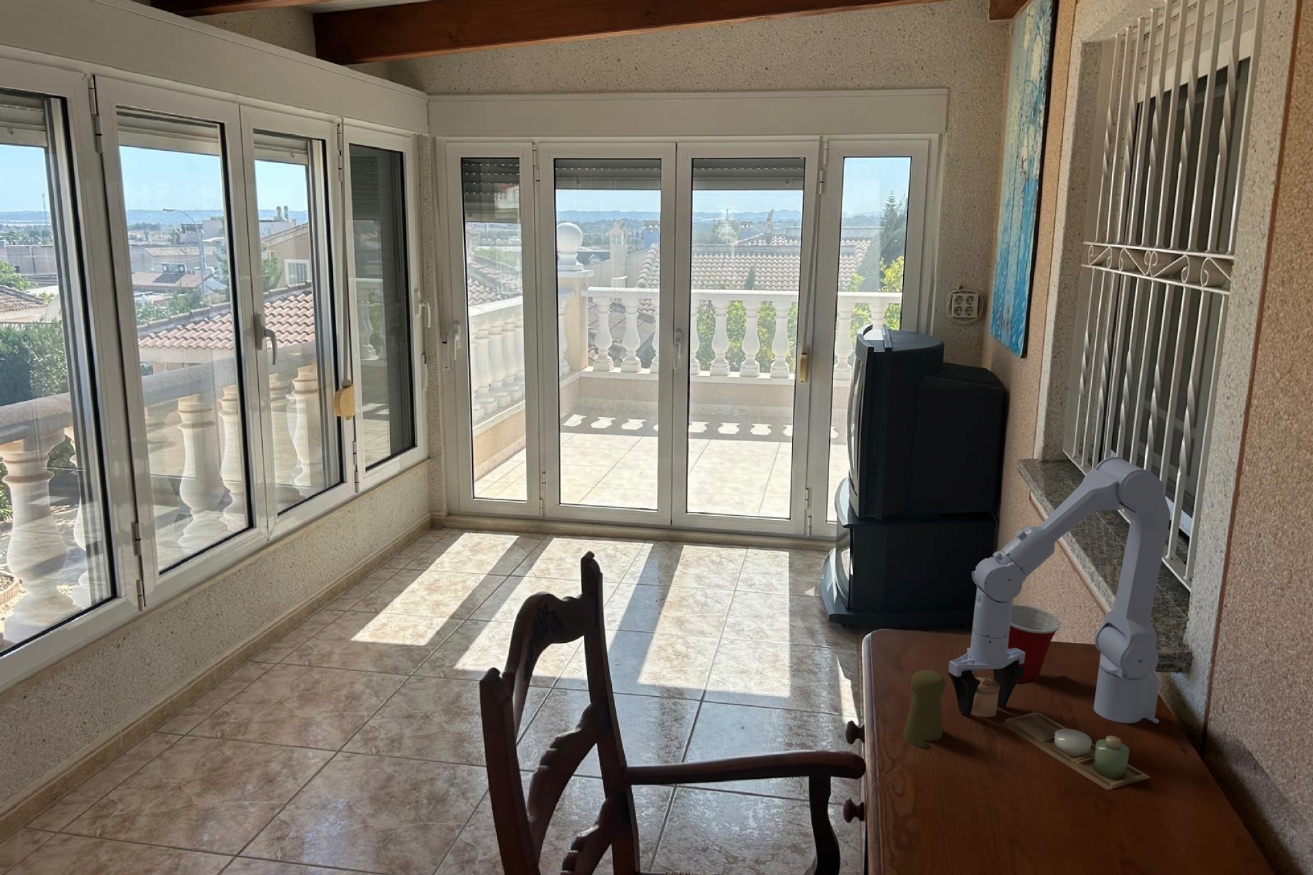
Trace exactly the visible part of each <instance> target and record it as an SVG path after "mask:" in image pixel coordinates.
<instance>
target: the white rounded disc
mask: <svg viewBox="0 0 1313 875" xmlns="http://www.w3.org/2000/svg"><path fill="white" fill-rule="evenodd" d="M1091 743H1093V742H1092V738H1091V737H1090V736H1089V735H1087V733H1084V732H1083V731H1080V730H1076V729H1073V728H1072V729H1071V728H1067V729H1059V730H1057V731H1056V732H1055V739H1054V748H1056V749H1058V750H1059V751H1061V752H1063V753H1064V754H1066V755H1068V756H1070V757H1076V758H1080V757H1083V756H1087V755H1090V750H1091Z"/></svg>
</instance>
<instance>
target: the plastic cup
mask: <svg viewBox="0 0 1313 875" xmlns="http://www.w3.org/2000/svg"><path fill="white" fill-rule="evenodd" d="M1061 625H1062V624H1061V621H1060V620H1059V618H1058V617H1056V616H1055V615H1053V614H1052V613H1050V612H1048V611H1046V610H1043V609H1041V608H1037V607H1034V606H1029V605H1024V604H1012V614H1011V622H1010V631H1009V641H1008V649H1014V648H1017V649H1019V650H1021V651H1023V652H1025V659H1024V663H1022V664H1019V666H1021V667H1023V668H1024V669H1025V671H1024V675H1023V676H1022V677H1021V678H1020V679H1019V681H1018V682H1020V683H1019V684H1025V683H1027V684H1031V683H1035V682H1038V679H1039V677H1040V674H1041V671H1042V670H1041V669H1042V667H1043V666H1044V663H1045V659H1046V656H1047V654H1048V651H1049V647H1050V644H1051V641H1053V637H1054V636H1055V633H1057V631H1059V630H1060V627H1061ZM1018 682H1017V683H1018Z"/></svg>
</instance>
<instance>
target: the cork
mask: <svg viewBox="0 0 1313 875" xmlns="http://www.w3.org/2000/svg"><path fill="white" fill-rule="evenodd" d="M910 687H911V690H912V692H913V694H912V697H911V702H910V706H909V710H908V711H909V712H908V714H907V715H908V716H907V719H906V724H905V727H904V732H903V739H904V740H905V741H906V742H907V743H908V744H911V745H913V746H915V747H918V748H922V749H933V746H931V745H930V744H928V743H927V742H928V741H929V742H932V741H937V740H939V739H941V738H942V737H943V721H942V720H943V719H942V702H941V701H942V700H941V699H942V698H941V697H942V695H943V694H945V690H946V681H945V679H944V677H943V676H942V675H941V674H940V673H938V672H936V671H933V670H928V669H927V670H925V669H922V670H918V671H916V672H915V673H913V674H912V677H911V680H910ZM925 741H927V742H925Z"/></svg>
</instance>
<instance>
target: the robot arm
mask: <svg viewBox="0 0 1313 875" xmlns="http://www.w3.org/2000/svg"><path fill="white" fill-rule="evenodd" d="M1164 491H1165V483H1164V482H1163V481H1161V479H1160V478H1159V477H1158V476H1157V475H1155V474H1154V473H1153V472H1152V471H1150V470H1148V469H1145V468H1141V467H1139V466H1137V465H1135V464H1133V463H1131V462H1129V461H1127V460H1126V459H1124V458H1122V457H1118V456H1110V457H1106V458H1104V459H1102V460H1101V461H1100V462H1099V463H1097V465H1096V466H1095V468H1092V469H1090V470H1089V471H1088V472H1087V473H1086V474H1085V476H1084V478H1083V479H1082V482H1081V483H1080V485H1079V486H1077V488H1076V489H1075V490H1074V491H1073V492H1071V494H1070V495H1069V496H1068V497H1067V498H1066V499H1065V500H1064V501H1063V502H1062V503H1061V504H1059V505H1058V507H1057V508H1055V510H1054V511H1052V512H1051V514H1050V515H1049V516H1048V517H1047V518H1046V519H1045V520H1043V522H1042V523H1041V524H1040V525H1034V526H1033V525H1032V526H1026V527H1025V528H1024V529H1023V530H1022V529H1021V528H1019V529H1018V530H1017V531H1015V533H1014V535H1015V537H1014V538H1013V539H1011V541H1009V542H1008V543H1007V544H1005V546H1003V547H1002V548H1001V549H1000V550H999V551H997V550H996V551H995V552H994V553H993V554H992V556H990V557H989V558H988V557H986V558H984V559H982V560H980V562H979V563H978V564H977V565H976V566H975V570H974V571H971V577H972V578H971V579H972V580H973V582H974V584H975V585H976V593H975V594H976V595H975V601H974V603H975V604H974V611H973V621H972V630H971V639H970V647H967V648H966V653H965V654H963V655H961V656H960V657H958V658H955V659H953V660H949V662H948V663H949V664H948V668H947V674H948V677H950V681H951V682H952V685H953V687H954V688H953V689H954V692H955V694H956V700H957V707H958V711H959V712H960V713H962V714H963V715H966V716H970V715H971V714H972V713H971V711H972V707H973V701H974V696H975V693H976V690H977V688H978V686H979V684H980V683H981V681H980V680H978V679H976V677H975V674H973V672H976V671H981V670H992V671H993V680H994V681H996V682H998V683H999V684H1000V691H999V694H998V703H997V706H1000V707H1001V708H1006V707H1007V704H1008V702H1009V699H1010V697H1011V694H1012V693H1013V691H1014V688H1015V687H1016V685H1017V684H1018V681H1019V679H1020V678H1021V677H1022V676H1023V675H1024V671H1025V669H1024V668H1023V667H1021V666H1019V664H1022V663H1024V659H1025V652H1023V651H1021V650H1019V649H1017V648H1014V649H1008V641H1009V631H1010V622H1011V614H1012V605H1014V604H1013V602H1014V598H1016V597H1017V596H1019V595H1020V593H1021V591H1022V589H1023V583H1024V582H1025V580H1027V579H1026V578H1027V577H1029V576H1030V574H1032V573H1034V571H1036V569H1037V568H1039V567H1040V566H1041V565H1042V564H1043V563H1045V562H1046V561H1047V560H1048V559H1049V558H1050V557H1051V556H1052V555H1053V554H1055V547H1056V542H1057V541H1059V539H1060V538H1062V537H1063V536H1065V535H1066V534H1067V533H1069V531H1071V530H1072V529H1074V528H1075V527H1076V526H1078V525H1079V524H1081V523H1082V522H1083V521H1084V520H1085V519H1087V518H1088V517H1089V516H1090V515H1092V514H1093V513H1094V512H1097V511H1118V510H1119V511H1120V510H1121V509H1123V511H1124V512H1126V514H1128V516H1129V518H1130V522H1129V528H1128V534H1127V538H1126V544H1125V549H1124V554H1123V560H1122V565H1121V570H1120V576H1119V580H1118V586H1117V591H1116V596H1115V601H1114V607H1113V609H1112V610H1109V611H1108V612H1107V613H1105V614H1104V619H1103V622H1102V623H1101V625H1100V627H1099V628H1098V629H1097V631H1096V633H1095V635H1094V645H1095V648H1096V649H1097V651H1099V653H1100V655H1099V666H1098V673H1097V681H1096V689H1095V694H1094V697H1095V698H1094V701H1093V702H1094V703H1093V710H1094V712H1095V713H1096V714H1098V716H1100V717H1102V718H1104V719H1107V720H1109V721H1113V722H1115V723H1121V724H1133V723H1134V724H1135V723H1137V722H1139V721H1141V720H1142V719H1146V720H1149V721H1151V722H1153V723H1155V724H1159V723H1160V720H1159V719H1158V718H1156V716H1155V715H1156V710H1157V703H1158V697H1159V691H1160V690H1159V689H1160V685H1159V684H1160V683H1159V679H1158V676H1157V674H1156V673H1155V670H1156V668H1157V666H1158V664H1159V658H1160V657H1159V653H1158V650H1157V641H1158V636H1157V633H1156V630H1155V627H1154V625H1153V622H1152V620H1151V614H1152V611H1153V606H1154V600H1155V596H1156V590H1157V584H1158V581H1159V575H1160V571H1161V565H1162V560H1163V556H1164V550H1165V545H1166V539H1167V535H1168V530H1169V525H1170V521H1171V511H1170V507H1169V504H1168V501H1167V498H1166V496H1165V495H1166V494H1165V492H1164Z"/></svg>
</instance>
